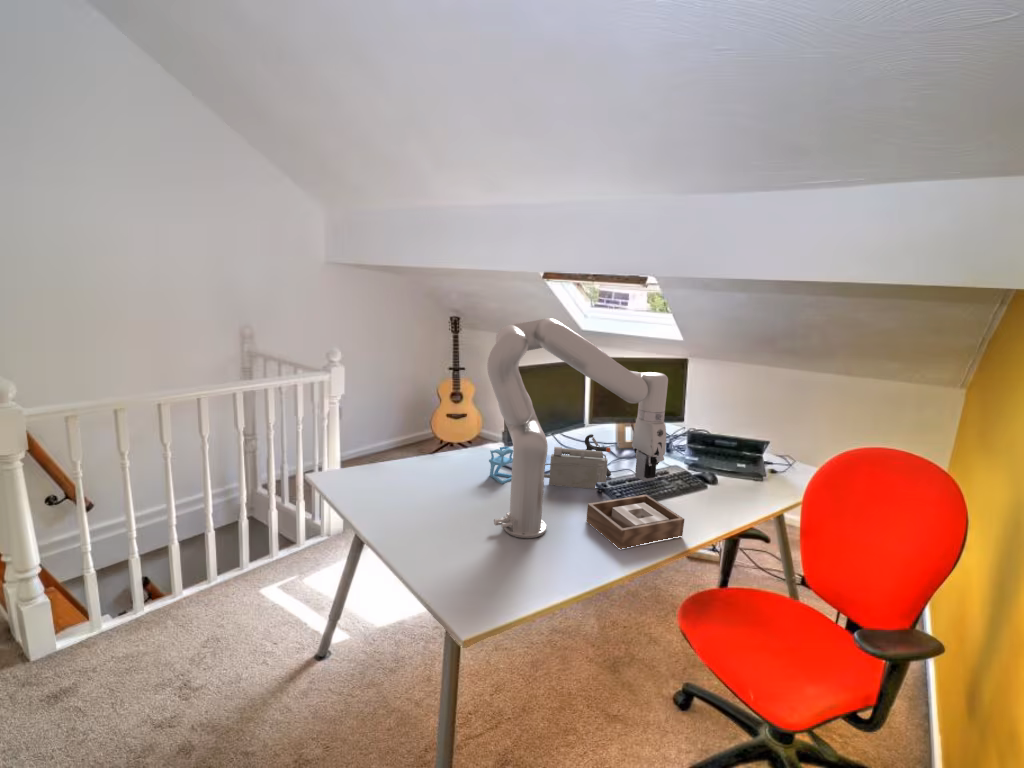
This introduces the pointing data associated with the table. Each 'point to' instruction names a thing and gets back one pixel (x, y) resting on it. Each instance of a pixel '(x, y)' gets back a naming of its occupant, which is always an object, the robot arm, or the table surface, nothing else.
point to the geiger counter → (577, 468)
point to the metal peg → (642, 466)
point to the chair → (500, 463)
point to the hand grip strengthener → (590, 447)
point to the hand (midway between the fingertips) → (645, 474)
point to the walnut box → (634, 520)
